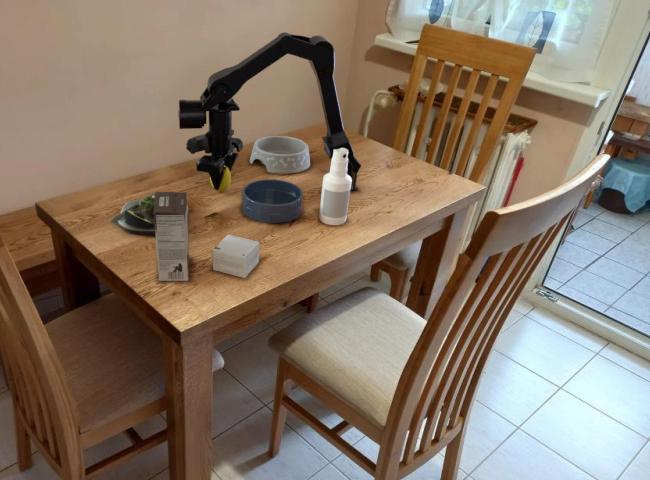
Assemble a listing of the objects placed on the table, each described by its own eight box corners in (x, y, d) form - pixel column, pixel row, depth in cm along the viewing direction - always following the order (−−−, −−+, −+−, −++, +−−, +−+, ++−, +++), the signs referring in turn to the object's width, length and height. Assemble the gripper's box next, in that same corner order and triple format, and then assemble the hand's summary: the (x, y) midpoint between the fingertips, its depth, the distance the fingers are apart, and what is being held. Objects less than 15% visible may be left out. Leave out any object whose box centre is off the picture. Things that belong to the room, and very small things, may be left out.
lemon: (228, 197, 152) (228, 169, 148) (207, 195, 153) (207, 166, 148) (233, 189, 157) (233, 161, 152) (213, 186, 158) (212, 158, 153)
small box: (259, 261, 127) (260, 241, 124) (244, 279, 121) (245, 258, 118) (228, 253, 129) (228, 233, 126) (211, 270, 124) (211, 249, 121)
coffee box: (160, 258, 127) (155, 190, 117) (189, 258, 127) (187, 190, 118) (158, 281, 119) (152, 211, 110) (189, 281, 120) (186, 211, 110)
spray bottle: (328, 228, 141) (337, 157, 130) (313, 216, 145) (320, 147, 135) (351, 222, 143) (361, 153, 133) (336, 211, 148) (344, 143, 138)
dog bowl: (279, 146, 183) (280, 129, 180) (322, 164, 173) (323, 147, 169) (238, 159, 174) (238, 142, 171) (281, 179, 163) (282, 161, 160)
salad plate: (124, 198, 150) (122, 181, 147) (193, 200, 150) (192, 184, 147) (107, 235, 134) (105, 217, 132) (184, 237, 134) (183, 220, 132)
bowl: (286, 193, 156) (287, 176, 153) (311, 218, 144) (313, 200, 141) (233, 201, 151) (233, 183, 148) (255, 228, 139) (256, 209, 136)
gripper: (204, 112, 154) (205, 167, 163) (175, 135, 139) (178, 194, 148) (243, 117, 151) (242, 173, 160) (218, 141, 137) (219, 201, 146)
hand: (220, 185), depth 154 cm, fingers closed on lemon, 5 cm apart
